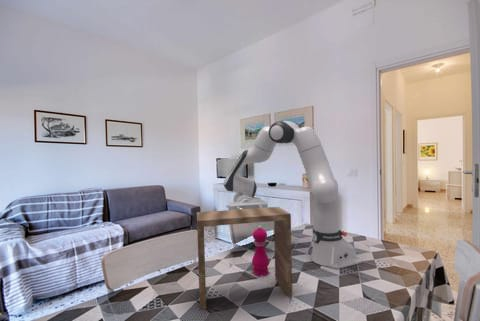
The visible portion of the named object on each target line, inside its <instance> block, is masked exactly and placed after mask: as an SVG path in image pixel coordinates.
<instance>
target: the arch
mask: <svg viewBox="0 0 480 321" xmlns="http://www.w3.org/2000/svg"><path fill="white" fill-rule="evenodd" d="M266 222H274V223H273V229H274V230H273V232H274V272H275V273H274V275H275V276H274V277H275V278H274V279H275V281H276V283H277V284H278V286H279V287H280V289H281V290H282V293H284V295H285V296H286V297H288V298H289V297H293V271H292V270H293V264H292V262H293V261H292V259H293V258H292V256H293V255H292V254H293V253H292V216H291V213H290V212H288V211H287V210H285V209H283V208H282V207H280V206H272V207H268V208H253V209H239V210H228V209H227V210H215V211H214V210H211V211H198V212H196V225H197V226H196V227H197V228H196V230H197V232H196V233H197V258H198V259H197V263H198V293H199V294H198V295H199V310H204V309H205V310H206V309H207V294H206V293H207V290H206V289H207V287H206V282H207V281H206V258H205V257H206V256H205V253H206V251H205V248H206V247H205V227H216V226H229V225H230V226H231V225H241V224H255V223H266Z"/></svg>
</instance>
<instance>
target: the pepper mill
mask: <svg viewBox="0 0 480 321" xmlns="http://www.w3.org/2000/svg"><path fill="white" fill-rule="evenodd" d="M252 237H253V240H254V241H253V242H254V243H253V244H254V245H255V251H254V254H253V257H252V260H251V264H252V266H253V270H252V272H253V274H254V275H256V276H259V277H261V276H262V277H263V276H267V275H268V273H269V268H268V266H269V264H270V259H269V257H268V253H266V245H267V240H266V239H267V238H268V233H267V231H266V230H265V229H263V227H262V225H260V224H259V225H258V226H257V228H256V229H255V230H254V231H253V233H252Z"/></svg>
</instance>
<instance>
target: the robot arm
mask: <svg viewBox="0 0 480 321" xmlns="http://www.w3.org/2000/svg"><path fill="white" fill-rule="evenodd" d="M291 143H293V144H294V146H295V148H296V150H297V152H298V155H299V158H300V160H301V163H302V165H303V168H304V171H305V174H306V178H307V180H308V184H309V187H310V190H311V194H312V196H313V228H312V241H313V242H312V243H313V244H312V250H311V255H310V260H311V261H312V262H313V263H315V264H317V265H321V266H323V267H329V268H333V269H336V270H337V269H339V270H340V269H343V268H347V267H350V266H354V265H358V264H362V263H363V260H362V258H361V257H360V256H359V255H357V252H356V249H355V246H353V245H352V243H351V242H349V241H348V240H346V239H345V237H347V236H348V232H346V231H343V230H340V227H339V226H340V225H339V224H340V223H339V222H340V220H339V216H340V214H339V184H338V181H337V180H336V178H335V177H334V174H333V172H332V171H333V170H332V169H331V166H330V162H329V160H328V158H327V157H328V156H327V155H326V153H325V150H324V147H323V145H322V143H321V140H320V138H319V136H318V134H317V133H316V131H315V130H314V129H313V128H312V127H311V126H303V127H301V125H300V124H299V123H297V122H296V121H290V120H279V121H275V122H273V123H272V124H271V125H269V126H263V127H262V128H261V129H260V130H259V132H258V133H257V136H256V137H255V139H254V142H253V144H252V145H251V146H250V148H248V149H246V150H244V151H242V153H241V154H240V156H239V157H238V159H237V160H236V161H235V163H234V165H233V167H232V168H231V170H230V171H229V173H228V174H227V175H226V177H225V178H224V181H223V187H224V189H225V190H226V191H227V192H232V193H235V194H234V195H233V202H229V203H228V204H226V208H227V210H239V209H253V208H268V202H266V201H265V200H263V199H262V198H261V197H256V194H257V189H258V187H257V183H256V182H255V180H254V179H251V178H247V177H245V176H241V175H239V174H240V173H241V171H242V170H243V168H244V167H245V166H246V165H248V164H254V163H255V164H259V163H263V162H267V161H268V160H269V159H270V158H271V156H272V154H273V152H274V149H275V147H276V146H277V144H291Z"/></svg>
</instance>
